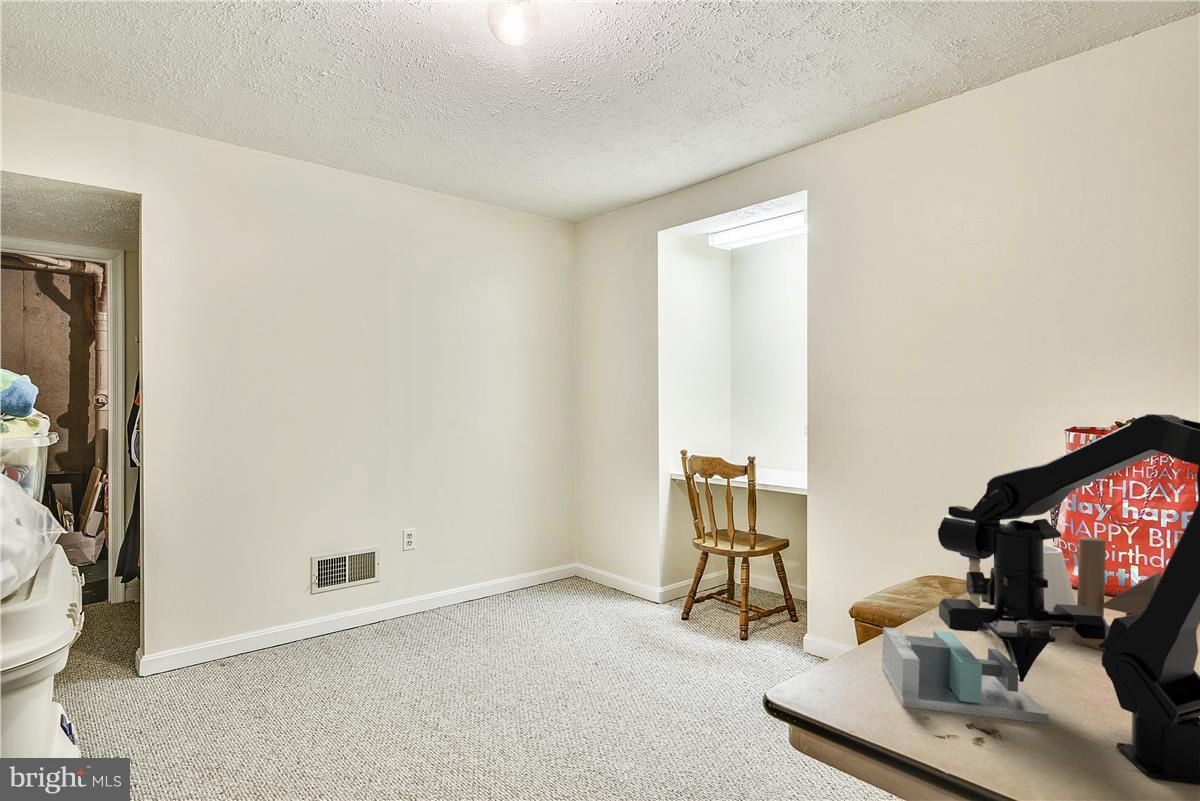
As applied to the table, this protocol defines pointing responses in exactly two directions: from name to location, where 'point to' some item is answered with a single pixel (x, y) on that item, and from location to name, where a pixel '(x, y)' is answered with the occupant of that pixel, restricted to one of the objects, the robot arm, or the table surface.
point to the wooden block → (1094, 584)
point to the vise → (994, 696)
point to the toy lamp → (974, 568)
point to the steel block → (932, 660)
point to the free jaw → (976, 669)
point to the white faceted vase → (1056, 580)
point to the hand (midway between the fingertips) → (1019, 680)
